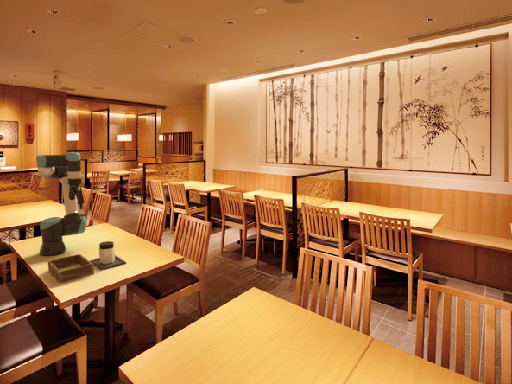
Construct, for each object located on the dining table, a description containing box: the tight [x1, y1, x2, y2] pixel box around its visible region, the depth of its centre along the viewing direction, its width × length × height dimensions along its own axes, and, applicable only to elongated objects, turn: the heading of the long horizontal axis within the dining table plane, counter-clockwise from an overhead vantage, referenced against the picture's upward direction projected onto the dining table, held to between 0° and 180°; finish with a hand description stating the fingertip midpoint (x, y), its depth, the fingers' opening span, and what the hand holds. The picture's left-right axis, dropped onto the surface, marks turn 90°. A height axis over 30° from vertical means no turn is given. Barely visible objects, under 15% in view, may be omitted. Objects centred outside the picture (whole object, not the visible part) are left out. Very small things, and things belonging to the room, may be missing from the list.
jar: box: [98, 240, 116, 264], centre depth 202 cm, size 9×8×12 cm
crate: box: [47, 253, 95, 284], centre depth 188 cm, size 22×17×6 cm
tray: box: [89, 254, 127, 271], centre depth 203 cm, size 18×15×1 cm
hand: (77, 212), depth 201 cm, fingers open, 13 cm apart
